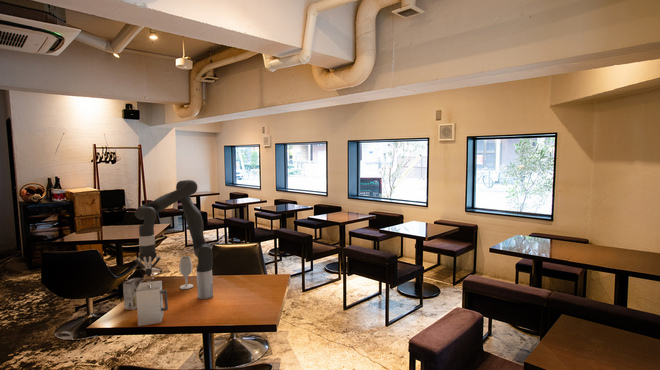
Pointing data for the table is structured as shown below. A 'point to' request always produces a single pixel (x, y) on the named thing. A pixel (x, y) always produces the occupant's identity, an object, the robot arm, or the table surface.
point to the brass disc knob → (149, 278)
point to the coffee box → (131, 292)
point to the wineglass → (185, 270)
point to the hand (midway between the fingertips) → (148, 275)
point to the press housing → (150, 303)
